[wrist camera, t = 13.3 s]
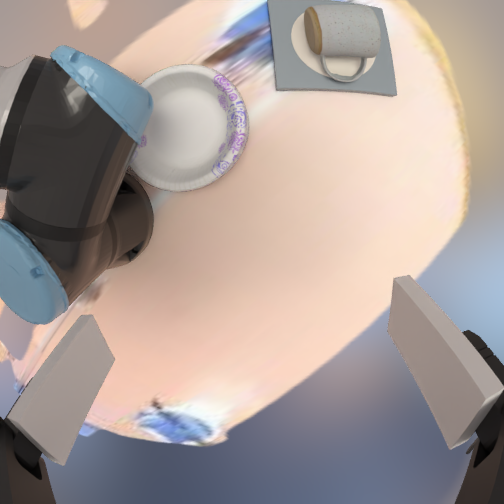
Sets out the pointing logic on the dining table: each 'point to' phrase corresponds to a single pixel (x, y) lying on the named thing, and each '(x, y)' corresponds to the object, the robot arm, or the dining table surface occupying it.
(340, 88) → the board
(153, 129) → the paper bowls
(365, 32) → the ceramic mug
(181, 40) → the dining table surface
